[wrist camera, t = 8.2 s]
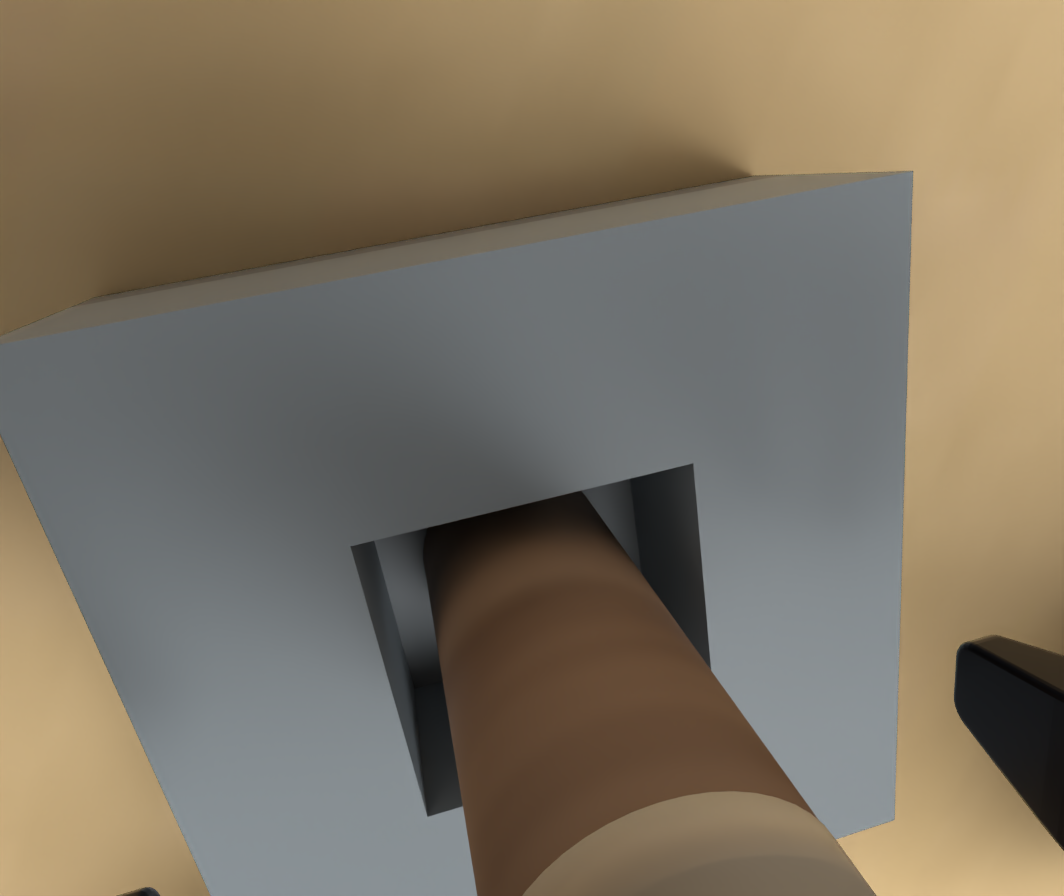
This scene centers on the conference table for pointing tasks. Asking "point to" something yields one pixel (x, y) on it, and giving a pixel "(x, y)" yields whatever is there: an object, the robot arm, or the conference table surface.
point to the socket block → (478, 497)
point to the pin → (602, 727)
